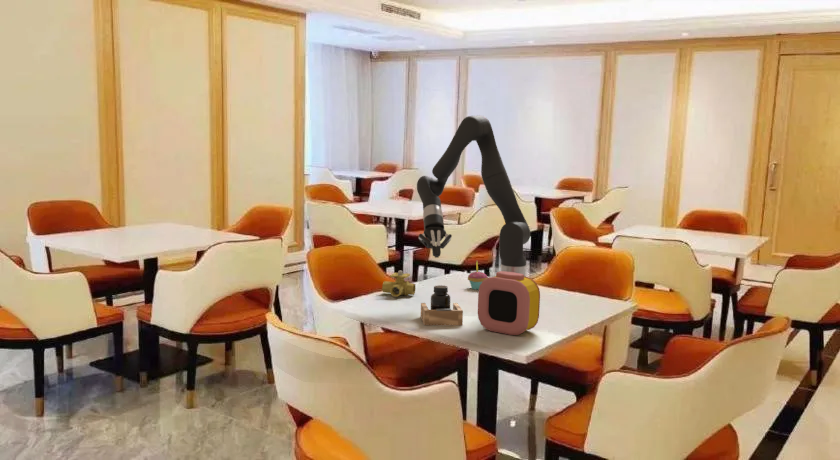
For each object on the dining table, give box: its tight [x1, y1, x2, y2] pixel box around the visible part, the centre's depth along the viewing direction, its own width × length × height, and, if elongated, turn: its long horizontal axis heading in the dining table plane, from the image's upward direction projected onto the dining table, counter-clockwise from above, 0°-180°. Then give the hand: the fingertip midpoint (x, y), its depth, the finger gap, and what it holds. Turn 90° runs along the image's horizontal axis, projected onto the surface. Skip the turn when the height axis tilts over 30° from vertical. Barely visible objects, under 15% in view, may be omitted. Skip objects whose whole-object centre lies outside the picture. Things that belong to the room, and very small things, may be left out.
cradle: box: [420, 302, 464, 326], centre depth 254 cm, size 12×13×5 cm
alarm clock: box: [477, 270, 541, 336], centre depth 243 cm, size 18×11×19 cm, turn 56°
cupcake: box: [467, 261, 489, 290], centre depth 310 cm, size 9×8×12 cm
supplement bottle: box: [430, 284, 451, 310], centre depth 254 cm, size 7×7×12 cm
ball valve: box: [381, 270, 416, 298], centre depth 292 cm, size 13×10×10 cm
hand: (437, 256), depth 269 cm, fingers closed
